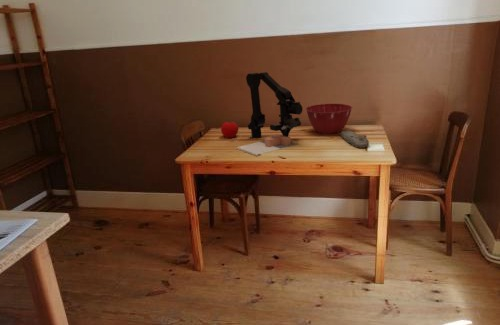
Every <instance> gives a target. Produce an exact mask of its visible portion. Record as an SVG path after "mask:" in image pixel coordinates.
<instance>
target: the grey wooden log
mask: <svg viewBox="0 0 500 325" xmlns="http://www.w3.org/2000/svg"><path fill="white" fill-rule="evenodd" d="M339 135H340V137H341V138H342V139H344V141H346V142H347V143H348V144H350V145H351V146H353V147H355V148H361V149H362V148H367V147H368V146H369V143H370V141H369V139H368V137H367V135H366V134H358V133H356V132H354V131H352V130H350V129H344V130H343V129H342V130H341V131H339Z"/></svg>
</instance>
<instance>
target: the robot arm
mask: <svg viewBox="0 0 500 325" xmlns="http://www.w3.org/2000/svg"><path fill="white" fill-rule="evenodd" d="M245 80H246V84H247V86H248V87H249V90H250V98H251V108H252V114H251V116H250V122H249V124H248V125H247V128H248V130H251V131H250V133H251V135H250V136H249V139H252V140H253V139H260V138H262V128H264V126H265V124H266V114H265V113H264V114H263V112H262V108H261V107H262V106H261V99H260V91H259V90H260V88H259V87H260V84H261V81H263V83H264V84H266V85H267V86H268V88H269V89H270V90H272V92H274V94H275V97H276V98H277V100H278V102H277V103H276V105H277V106H279V114H278V117H279V119H280V121H279V122H278V123H273V124H270V126H269V130H271V131H275V132H279V131H280V133H281V135H284V136H287V137H289V135H290V132H291V130H292V129H294V128H297V127H299V126H301V125H302V122H301V120H300V117H295V118H293V115H301V114H302V113H303V106H302V104H301V102H300V101H296V99H295V98H294V96H293V94H292V92H291V90H289V89H287V88H286V87H283V86H281V85H280V83H278V82H277V81H276V80H275V79H274V78H273V77H272V75H271V76H270V75H269V72H267V71H263V72H259V73H258V72H250V73H247V75H246V76H245Z"/></svg>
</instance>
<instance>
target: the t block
mask: <svg viewBox="0 0 500 325" xmlns="http://www.w3.org/2000/svg"><path fill="white" fill-rule="evenodd" d="M264 141H265V146H268V147H272V146H276V145H280V144H282V145H289V144H291V142H292V141H291V136H288V137H287V136H284V135H283V134H280V133H275V134H272V135H271V136H270V137H267V138H264Z"/></svg>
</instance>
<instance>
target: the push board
mask: <svg viewBox="0 0 500 325" xmlns="http://www.w3.org/2000/svg"><path fill="white" fill-rule="evenodd" d="M296 145H298V143H297V142H293V141H291V144H289V145H282V144H280V145H276V146H272V147H268V146H265V140H262V141H257V142H254V143H248V144H244V145H240V146H237V147H236V150H239V151H241V152H244V153H247V154H249V155H252V156H255V157H259V156H260V157H261V156H262V154H264V153H268V152H273V151H277V150H281V149H285V148H289V147H292V146H296Z"/></svg>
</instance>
